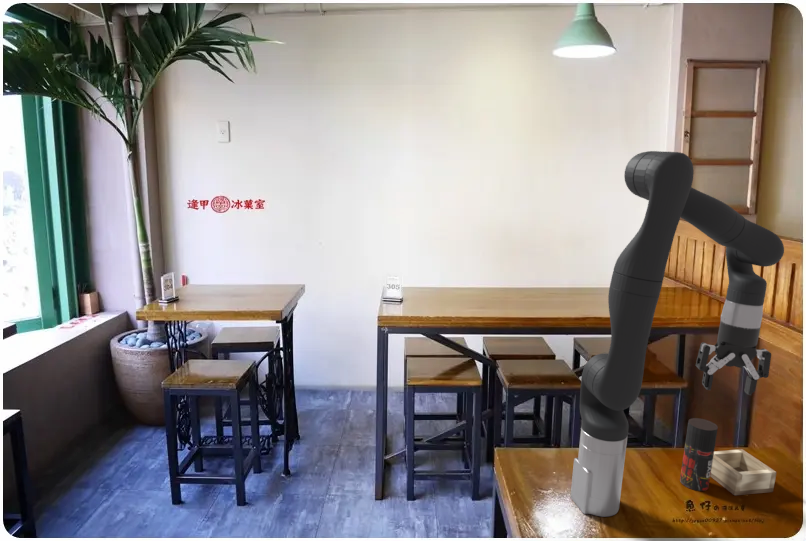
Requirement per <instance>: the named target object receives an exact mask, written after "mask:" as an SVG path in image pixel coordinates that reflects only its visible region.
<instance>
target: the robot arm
mask: <svg viewBox="0 0 806 541" xmlns="http://www.w3.org/2000/svg"><path fill="white" fill-rule="evenodd" d="M694 171H695V170H694V165H693V161H692V159H691V158H690V157H689V156H688V155H687V154H685V153H683V152H679V151H658V150H656V151H655V150H650V151H644V152H640V153H636V154H635V155H633V157H631V158H630V159H629V161H628V163H627V164H626V166H625V169H624V182H625V185H626V187H627V189H628V190H629V191H630V192H631V193H632V194H633V195H635V196H636V197H638V198H642V199H644V200H646V201H647V202H648V203H647V207H646V211H645V216H644V218H643V222H642V224H641V225H640V228H639V229H638V231H637V233H635V235H634V237H633V238H632V239H631V240H630V241H629V243H628V244H627V245H626V246H625V248H624V249H623V250H622V252H620V254H619V255H618V258H617V259H616V261H615V264H614V267H613V271H612V275H611V279H610V284H609V289H608V297H607V298H608V299H607V300H608V313H609V321H610V334H611V336H610V337H611V338H610V345H609V350H608V353H604V352H602V353H598V354H594V356H591V358H589V359H588V361H587V362H586V363H585V365H584V367H583V370H582V372H581V373H582V374H581V378H580V379H581V381H580V393H579V394H580V395H579V414H580V417H581V427H580V435H579V436H580V437H579V446H578V455H577V456H578V457H575V458H573V468H572V474H571V476H572V477H571V489H570V495H569V496H570V498H571V500H572V501H573V503H574V504H575V505H576V506H577V507H578V509H579V510H580V511H581V513H582V514H585V515H586V514H587V515H588V514H589V515H592V516H597V517H603V518H604V517H607V518H608V517H612V516H615V515H616V514H617V513H618V512H619V509H620V504H621V502H620V501H621V494H622V484H623V477H624V467H625V460H626V450H627V444H628V435H629V427H630V425H629V421H628V418H627V417H626V414H625V411H624V410H626V409H628V408H630V407H631V406H632V405H633V404H634V403H635V402H636V400H637V399H638V398H639V397H638V396H640V392H641V389H642V385H643V379H644V378H643V377H644V370H645V363H646V353H647V348H648V342H649V337H650V335H651V334H650V333H651V331H652V330H651V329H652V326H653V322H654V316H655V313H656V308H657V305H658V303H659V302H658V301H659V299H660V294H661V291H662V286H663V283H664V277H665V273H666V269H667V268H666V267H667V263H668V260H669V256H670V253H671V249H672V246H673V241H674V239H675V234H676V232H677V228H678V225H679V223H680V220H681V219H682V220H684V221H686V222H687V223H688V224H690V225H692V226H693V227H695V228H696V229H698V231H700V232H702V234H704V235H706V237H709V238H710V239H712V240H713V241H714V242H715V243H717V244H719V245H720V246H723V247H725V258H726V260H725V261H726V268H727V276H728V286H727V290H726V295H725V301H724V304H723V308H722V310H721V311H722V312H721V314H720V323H719V327H718V334H717V339H716V340H717V341H716V344H714V345H712V344H708V343H706V342H701V343H700V346H699V349H698V353H697V358H696V361H695V362H696V363H695V366H696V368H697V369H698V370H699V371H701V372H703V375H702V380H701V384H702V386H703V388H705V390H707V391H711V389H712V385H713V380H714V374H715V373H716V372H717V371H719V369H721V368H723V367H724V366H726V367H735V368H740V369H742V368H744V369H745V371H746V372H747V374H748V375H746V379H745V382H744V390H743V391H744V393H745V394H746V395H749V396H752V395H753V393H755V391H756V388H757V383H758V380H759V379H761V378H764V379H766V378H768V377H769V374H770V370H771V369H770V368H771V367H770V366H771V360H772V353H771V351H769V350H768V349H766V348H761V349H757V345H758V341H759V337H760V330H761V326H762V322H763V321H762V320H763V316H764V314H763V313H764V312H763V311H764V302H765V299H766V293H767V289H768V288H767V287H768V283H767V280H766V279H765V278H764V277H762V276H760V275H759V274H756V272H755V271H754V268H753V265H754V266H757V267H766V268H767V267H771V266H773V265H776V264H778V263H779V262H780V261H781V260H782V259H783V257H784V253H785V247H784V243H783V241H782V239H781V238H780V237H779V236H778V234H776V233H775V232H773V231H772V230H770V229H768V228H765V227H764V226H762V225H759V224H757V223H755V222H752V221H750V220H748V219H746V218H745V216H743V215H742V214H740V213H739V212H738V211H737V210H736V209H734V208H733V207H731V206H730V205H729V204H726V203H725V202H723V201H721V200H720V199H718V198H716V197H714V196H711V195H709V194H707V193H705V192H702V191H700V190H697V189H696V188H693V187H692V186H693V181H694V174H695V172H694ZM713 352H714V353H715V355H714V356H713V357H712V358H711V359H710V360H709V355H712V353H713ZM755 357H757V359H758V366H757V370H756V368H755V366H754V364H753V363H752V360H753V359H754V358H755ZM708 360H709V362H708Z"/></svg>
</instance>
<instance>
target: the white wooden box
mask: <svg viewBox="0 0 806 541" xmlns="http://www.w3.org/2000/svg"><path fill="white" fill-rule="evenodd" d="M776 477H777V471H775V470H774V469H773V468H771V467H770V466H769V465H767V464H765V463H763V462H762V461H760V459H758V458H756V457H755V456H753V455H752V454H751V453H748V452H747V451H746V450H744V449H742V448H740V449H729V450H717V451H715V450H714V455H713V462H712V468H711V475H710V478H712V479H713V480H714V481H716V482H717V483H718V484H719V485H721V486H722V487H723V488H724V489H726V490H727V491H728V492H729V493H731V494H732V495H734V496H743V495H744V496H745V495H752V494H753V495H754V494H763V493H764V494H765V493H774V488H775V482H776Z"/></svg>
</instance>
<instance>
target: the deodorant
mask: <svg viewBox="0 0 806 541" xmlns="http://www.w3.org/2000/svg"><path fill="white" fill-rule="evenodd" d="M718 428H719V427H718V424H716V423H715V422H713V421H712V420H711V421H710V420H707V419H704V418H699V417H691V418H690V419H688V422H687V428H686V436H685V442H684V449H683V450H684V451H683V456H682V461H681V462H682V463H681V464H682V465H681V470H680V477H679V481H680V483H681V485H683V486H684V487H686V488H688V489H690V490H693V491H696V492H705V491H707V490H708V489H709V487H710V486H709V485H710V481H711V476H710V475H711V468H712V462H713V455H714V451H715V449H716V448H715V447H716V443H717V442H716V440H717V435H718V434H717V433H718Z"/></svg>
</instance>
